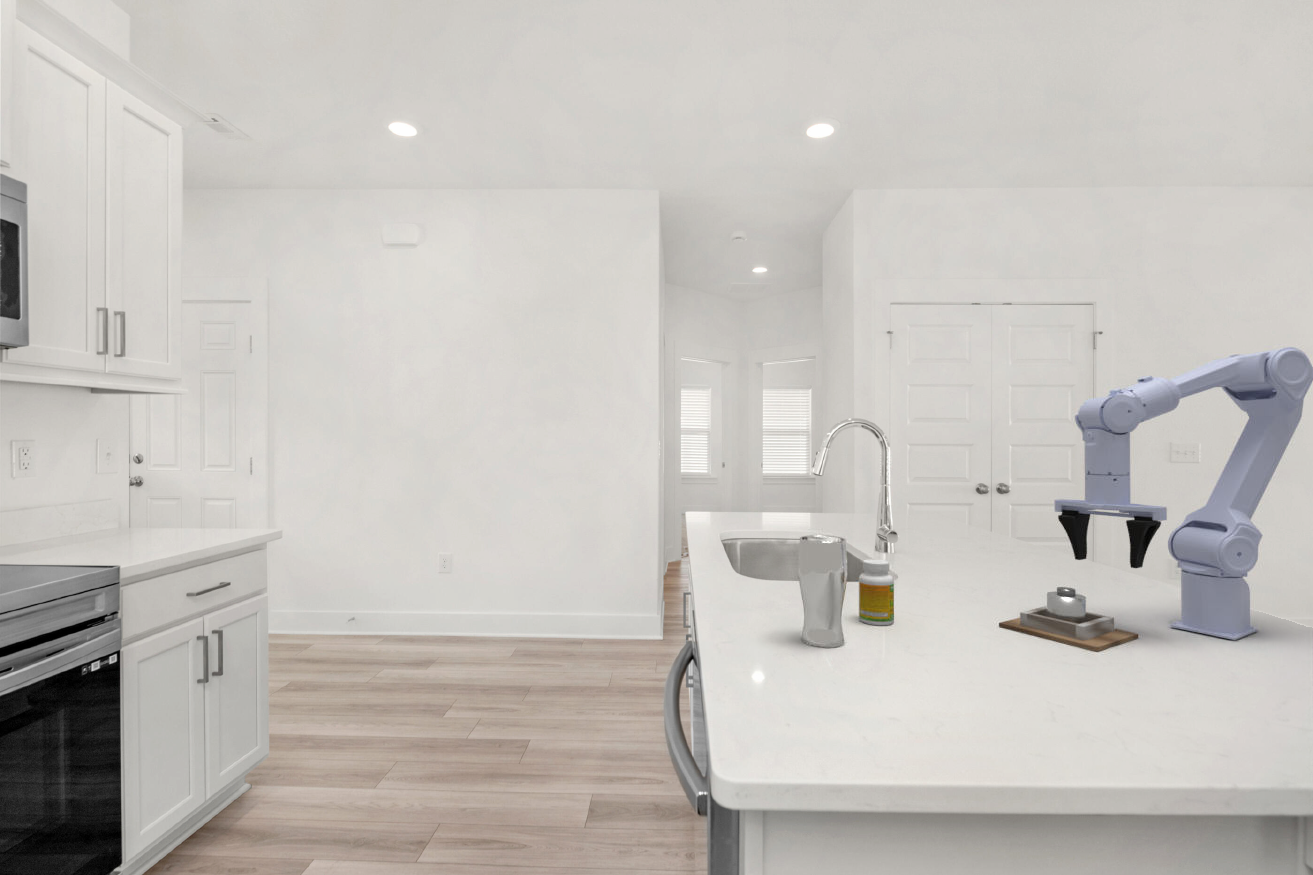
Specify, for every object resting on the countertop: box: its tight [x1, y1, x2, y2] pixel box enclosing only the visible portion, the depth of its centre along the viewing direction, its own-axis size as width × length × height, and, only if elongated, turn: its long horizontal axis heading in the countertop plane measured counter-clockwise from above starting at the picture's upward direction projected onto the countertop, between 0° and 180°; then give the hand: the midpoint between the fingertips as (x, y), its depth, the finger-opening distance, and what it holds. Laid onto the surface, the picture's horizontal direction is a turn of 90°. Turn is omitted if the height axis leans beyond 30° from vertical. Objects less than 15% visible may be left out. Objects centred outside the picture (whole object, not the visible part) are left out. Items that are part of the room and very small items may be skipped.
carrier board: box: [998, 605, 1139, 652], centre depth 97 cm, size 12×14×3 cm
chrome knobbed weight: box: [1046, 586, 1087, 624], centre depth 97 cm, size 5×5×6 cm
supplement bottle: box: [858, 558, 895, 626], centre depth 104 cm, size 5×5×10 cm
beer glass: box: [797, 534, 848, 648], centre depth 93 cm, size 7×7×15 cm
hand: (1107, 563), depth 98 cm, fingers open, 7 cm apart
